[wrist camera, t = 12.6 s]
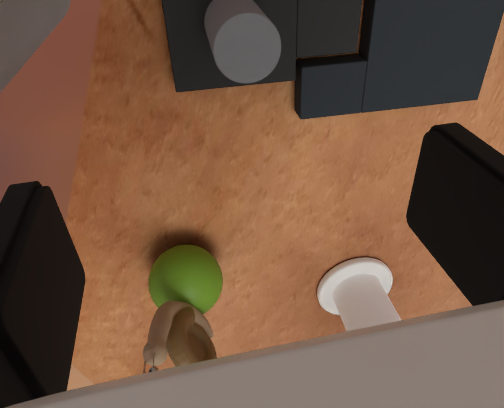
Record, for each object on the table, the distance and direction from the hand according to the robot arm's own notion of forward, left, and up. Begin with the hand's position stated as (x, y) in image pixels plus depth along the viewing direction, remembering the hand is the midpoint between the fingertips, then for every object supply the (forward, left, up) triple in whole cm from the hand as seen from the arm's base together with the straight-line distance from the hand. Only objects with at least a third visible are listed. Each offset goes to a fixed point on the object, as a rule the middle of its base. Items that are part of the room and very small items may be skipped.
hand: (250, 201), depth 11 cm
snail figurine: (-4, -16, -16) cm, 23 cm away
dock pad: (+11, +1, -16) cm, 20 cm away
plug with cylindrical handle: (+3, +1, -16) cm, 17 cm away
